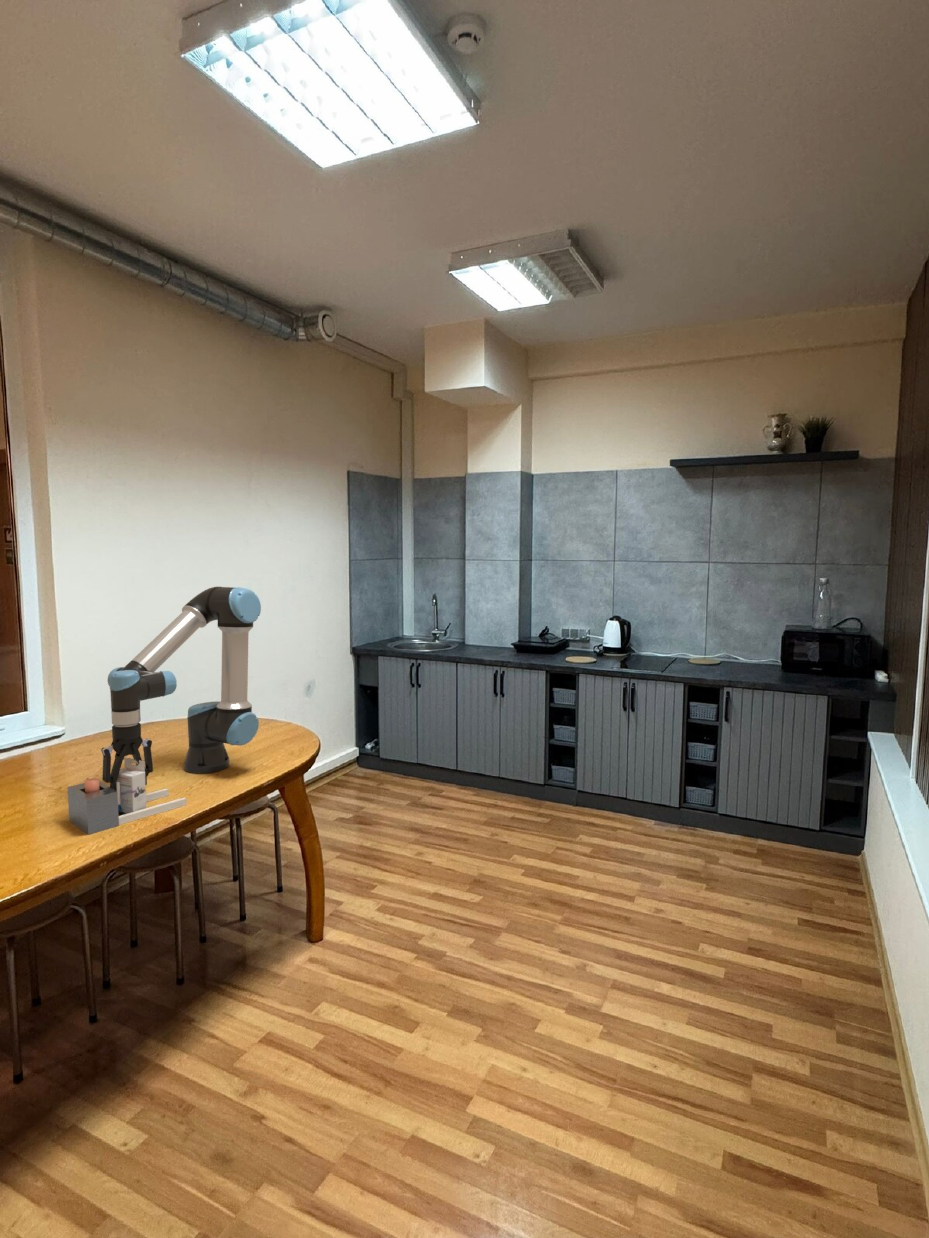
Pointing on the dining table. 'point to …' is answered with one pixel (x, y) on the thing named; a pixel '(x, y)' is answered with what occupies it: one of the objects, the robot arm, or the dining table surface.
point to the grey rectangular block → (93, 808)
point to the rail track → (153, 807)
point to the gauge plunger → (91, 785)
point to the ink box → (132, 786)
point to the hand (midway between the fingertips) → (129, 799)
